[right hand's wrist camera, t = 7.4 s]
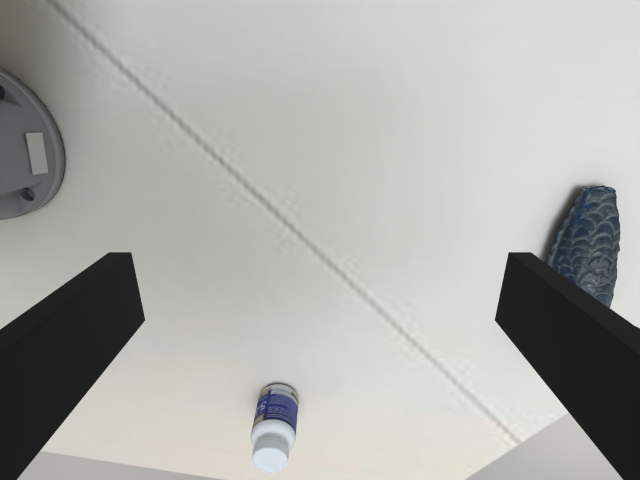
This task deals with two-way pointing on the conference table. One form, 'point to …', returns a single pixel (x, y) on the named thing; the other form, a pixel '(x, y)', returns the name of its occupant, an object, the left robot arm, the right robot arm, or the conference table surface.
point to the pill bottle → (274, 428)
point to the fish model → (589, 243)
